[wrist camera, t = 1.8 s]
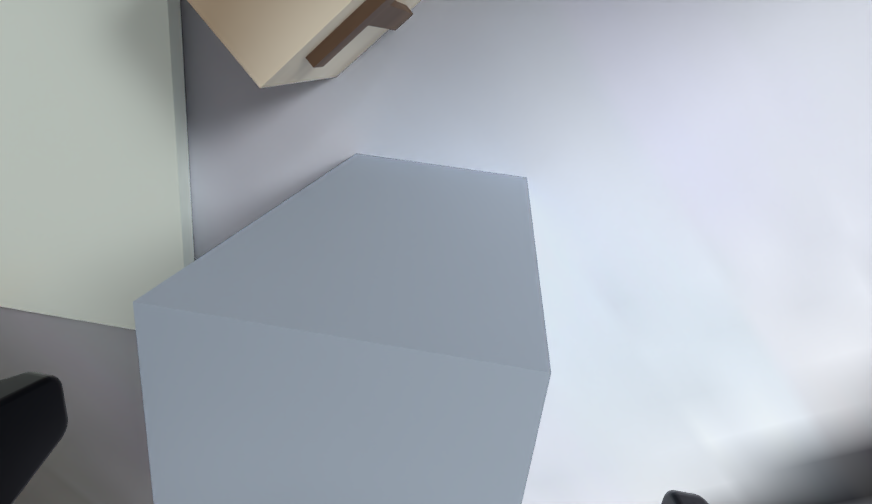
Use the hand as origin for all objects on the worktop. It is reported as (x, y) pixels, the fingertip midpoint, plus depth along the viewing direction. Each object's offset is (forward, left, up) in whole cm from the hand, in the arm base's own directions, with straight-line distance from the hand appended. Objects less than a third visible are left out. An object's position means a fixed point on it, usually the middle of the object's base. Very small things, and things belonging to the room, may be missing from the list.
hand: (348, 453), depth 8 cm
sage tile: (+13, -1, -9) cm, 16 cm away
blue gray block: (0, 0, -9) cm, 9 cm away
